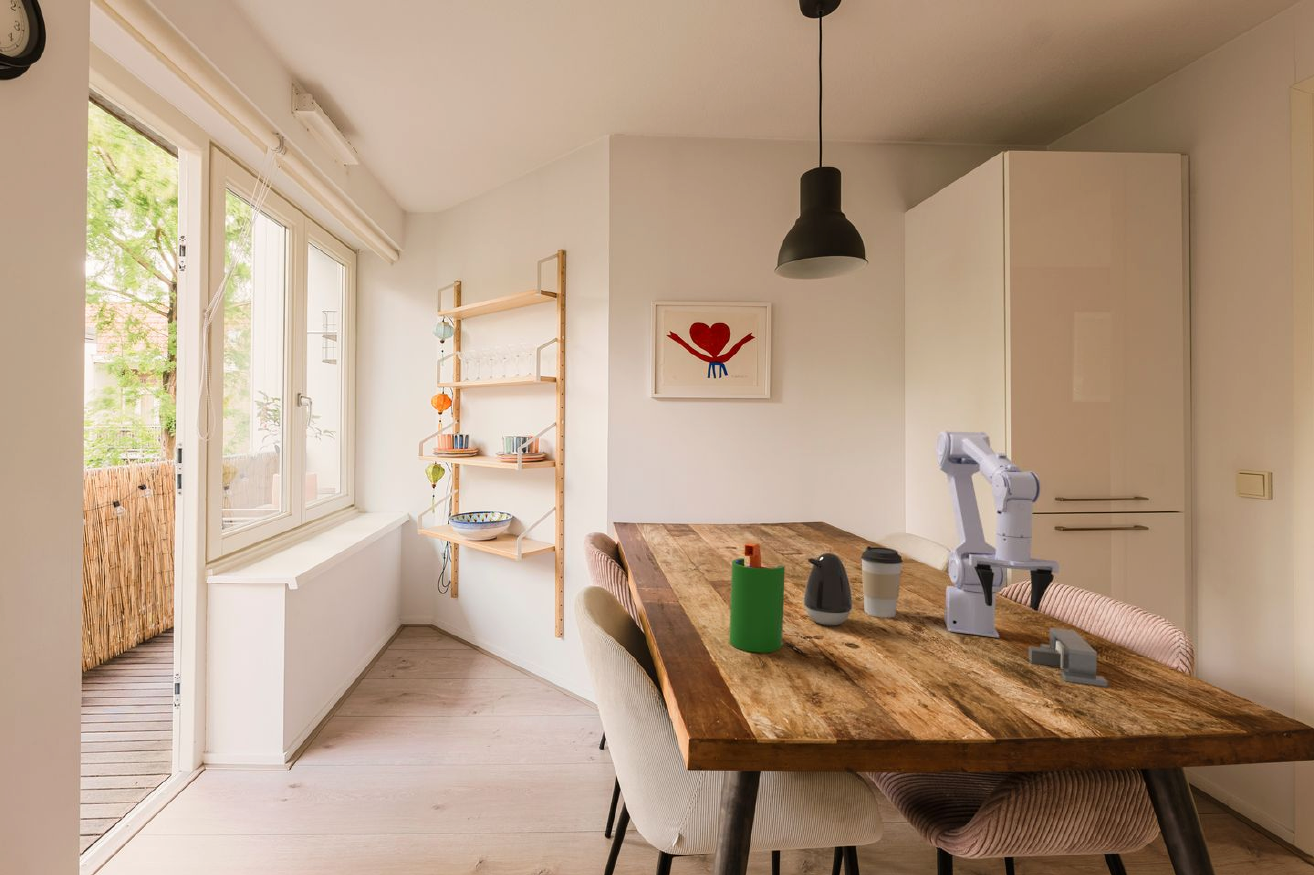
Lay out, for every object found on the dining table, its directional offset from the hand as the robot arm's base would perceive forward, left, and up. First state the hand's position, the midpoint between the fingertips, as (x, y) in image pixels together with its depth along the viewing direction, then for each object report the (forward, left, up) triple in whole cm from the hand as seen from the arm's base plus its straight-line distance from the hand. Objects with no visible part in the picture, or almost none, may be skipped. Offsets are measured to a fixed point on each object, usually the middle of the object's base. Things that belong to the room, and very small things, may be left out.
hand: (1011, 606), depth 111 cm
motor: (-46, -14, -10) cm, 49 cm away
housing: (+10, -1, -10) cm, 14 cm away
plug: (+7, -1, -10) cm, 12 cm away
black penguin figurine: (-34, +6, -10) cm, 36 cm away
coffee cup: (-23, +18, -10) cm, 31 cm away
